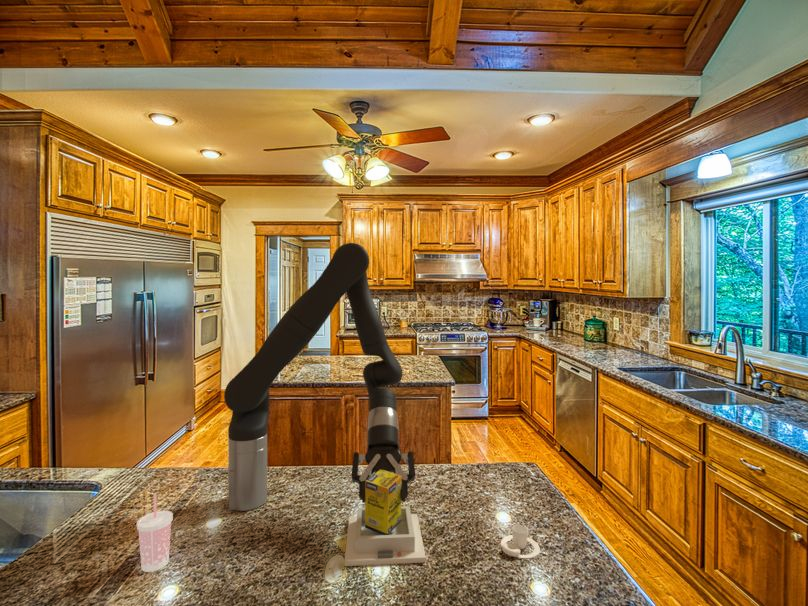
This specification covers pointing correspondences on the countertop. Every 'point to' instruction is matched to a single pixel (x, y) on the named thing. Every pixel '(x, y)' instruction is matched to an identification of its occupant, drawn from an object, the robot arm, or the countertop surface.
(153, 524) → the beverage cup
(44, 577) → the countertop surface
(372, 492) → the supplement box
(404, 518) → the socket base
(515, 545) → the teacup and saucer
